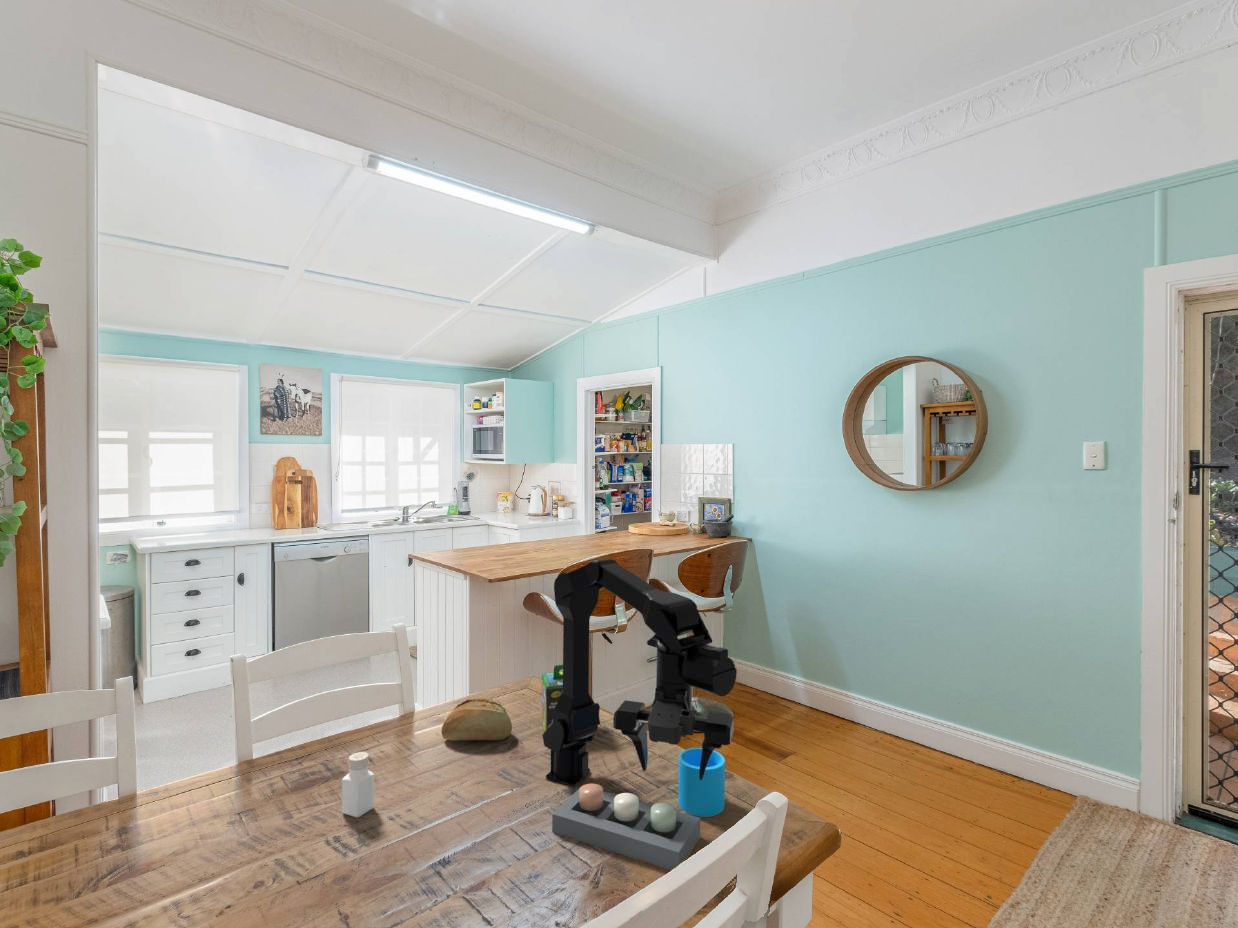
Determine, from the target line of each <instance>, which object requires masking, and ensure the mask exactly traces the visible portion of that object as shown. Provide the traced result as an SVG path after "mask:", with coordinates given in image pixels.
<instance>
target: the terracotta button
mask: <svg viewBox="0 0 1238 928" xmlns="http://www.w3.org/2000/svg"><path fill="white" fill-rule="evenodd" d="M581 786H582V787H581ZM581 786H580V789H579V788H578V789H579V806H580V807H581V808H582V809H584V810H588V811H594V810H598V809H600V808H601V807H602V806H603V791H604V787H603V786H602V785H600V784H597V783H587V784H583V785H581Z"/></svg>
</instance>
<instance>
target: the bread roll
mask: <svg viewBox="0 0 1238 928" xmlns="http://www.w3.org/2000/svg"><path fill="white" fill-rule="evenodd" d="M512 731H513V724H512V722H511V718H510V716H509V714H508V712H507V711H506V708H505V707H504V706H503V705H502V704H501V703H500V702H498V701H496V700H493V699H490V698H472V699H466V700H465V701H462V702H461V703H458V704H457V705H456V706H455V708H453V710H452V711H451V712H450V713H449V714H448V715H447V717H446V719H445V721H444V722H443V724H442V726H441V732H440V733H441V736H442V738H443V739H444V740H447V741H503V740H504V739H505V740H506V738H508V737H509V736H510V734H512Z"/></svg>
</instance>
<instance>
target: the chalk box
mask: <svg viewBox="0 0 1238 928" xmlns="http://www.w3.org/2000/svg"><path fill="white" fill-rule="evenodd" d="M561 670H562V671H561ZM562 693H563V664H558V665H556V664H555V666H554V667H553V672H545V673H542V674H541V723H542V726H543V729H544V732H545V731H546V730H547V729H548V728H549V727H550V726H551V725H552V724H553V716H554V709H555V706H556V705H557V703H558V701H559V699H560V697H561V695H562Z"/></svg>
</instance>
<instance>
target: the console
mask: <svg viewBox="0 0 1238 928" xmlns="http://www.w3.org/2000/svg"><path fill="white" fill-rule="evenodd" d="M582 786H583V785H581V786H580V787H582ZM579 789H580V788H578V789H577V790H576V791H575V792H574V793H572V795H571V796H569V798H567V799H566V801H564V802H563V804H561V805H560V806H559V807H558V808H557V809H555V811H554V812H552V814H551V815H552V819H551V820H552V821H551V823H552V827H551V830H552V831H551V832H552V833H554V834H557V835H561V836H563V837H566V838H569V839H573V840H576V841H580V842H582V843H585V844H589V845H591V846H594V847H597V848H601V849H604V850H607V851H609V852H614V853H616V854H619V855H623V856H626V857H629V858H632V859H635V860H638V861H641V862H645V863H647V864H651V865H654V866H657V867H660V868H664V869H666V870H669V871H672V869H673V868H675V867H676V866H678V865H679V864H680V863H682V862H683V861H685V859H686V860H688V858H689V855H690V854H691V852H692V851H693V849H694V847H695V846H696V844H697V843H698V841H699V839H700V838H701V817H699V816H695V815H691V814H689V813H685V812H680V811H677V810H676V827H675V829H674V830H672V831H670V832H659V831H656V830H654V829H653V828H652V827H651V807H652V806H653V805H654V804H651V803H648V802H644V801H641V800H640V801H639V812H638V817H637V818H636V819H635V820H632V821H621V820H619V819H617V818H616V817H615V816H614V798H615V796H617V795H618V794H615V793H611V792H608V791H607V792H606V791H604V790H603V806H602V807H601V808H600V809H598V810H594V811H588V810H584V809H582V808H581V807H580V806H579ZM685 862H686V861H685Z"/></svg>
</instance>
